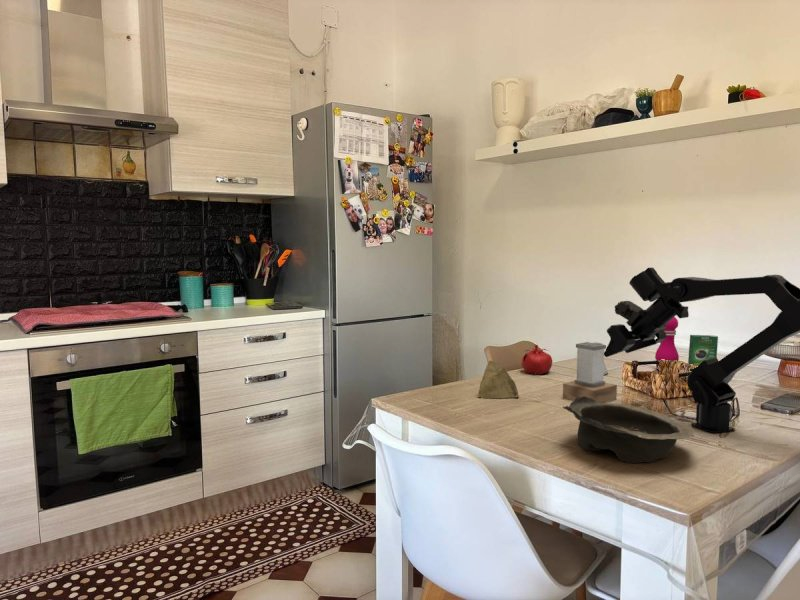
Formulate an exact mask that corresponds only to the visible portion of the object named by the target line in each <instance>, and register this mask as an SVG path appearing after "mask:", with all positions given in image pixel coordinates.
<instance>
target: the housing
mask: <svg viewBox="0 0 800 600" xmlns="http://www.w3.org/2000/svg"><path fill="white" fill-rule="evenodd" d="M575 348H576V349H577V351H576V354H577V355H576V379H575V380H574V381H575V384H579V385H583V386H588V387H592V388H595V387H599V386H603V385H605V383H606V381H605V380H604V376H605V375H604V363H605V355H604V352H605V350H606V348H607V345H606V344H603V343H602V344H596V343H594V342H589V341H585V342H580V343H575Z"/></svg>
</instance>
